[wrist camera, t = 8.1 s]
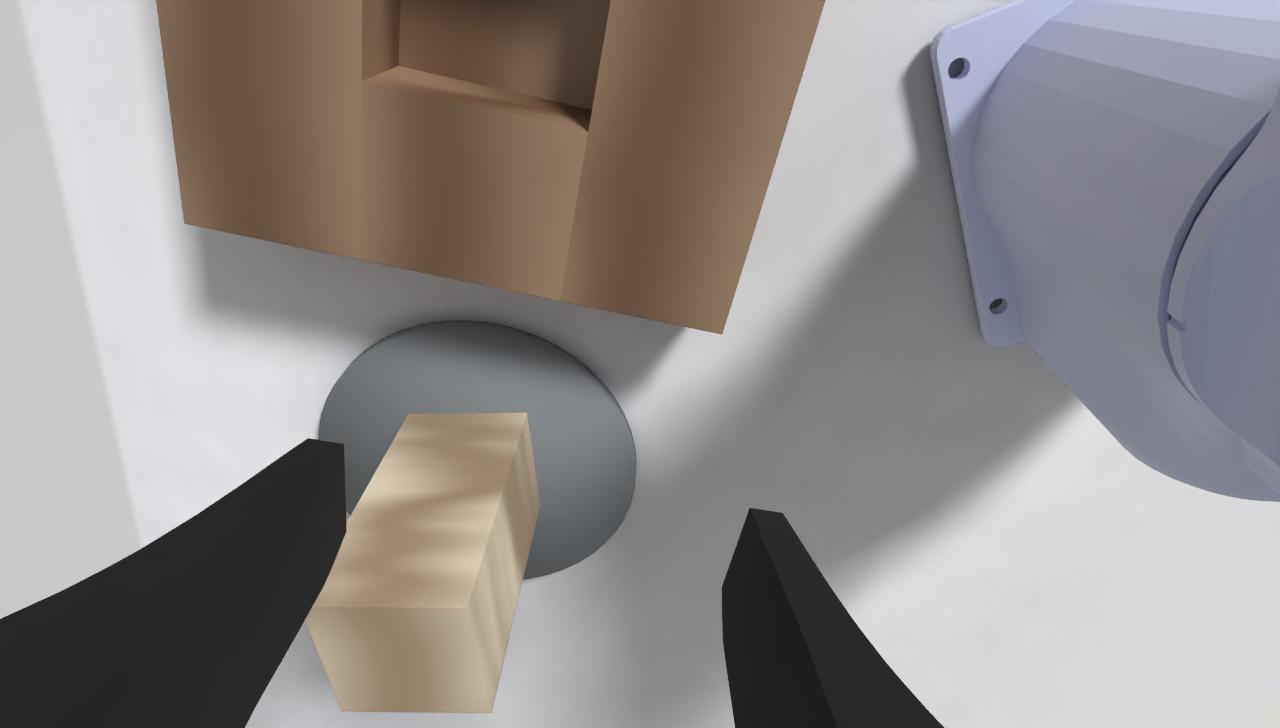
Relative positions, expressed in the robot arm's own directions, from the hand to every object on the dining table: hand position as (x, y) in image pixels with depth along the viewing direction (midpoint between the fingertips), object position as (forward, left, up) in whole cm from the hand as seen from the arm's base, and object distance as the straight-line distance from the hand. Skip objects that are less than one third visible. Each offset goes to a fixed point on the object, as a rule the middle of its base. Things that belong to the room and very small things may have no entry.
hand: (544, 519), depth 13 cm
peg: (-4, +6, -10) cm, 12 cm away
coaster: (-5, +7, -10) cm, 13 cm away
